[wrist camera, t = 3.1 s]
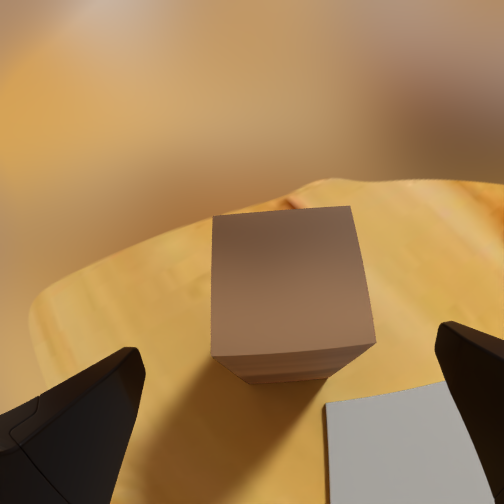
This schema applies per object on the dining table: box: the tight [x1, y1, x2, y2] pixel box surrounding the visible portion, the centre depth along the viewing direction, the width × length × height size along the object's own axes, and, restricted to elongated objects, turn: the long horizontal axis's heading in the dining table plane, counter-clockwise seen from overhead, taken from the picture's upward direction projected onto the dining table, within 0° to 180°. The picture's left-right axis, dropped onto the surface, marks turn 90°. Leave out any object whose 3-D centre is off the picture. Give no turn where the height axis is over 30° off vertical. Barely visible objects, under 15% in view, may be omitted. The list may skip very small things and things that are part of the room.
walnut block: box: [211, 206, 376, 384], centre depth 14 cm, size 4×4×10 cm
